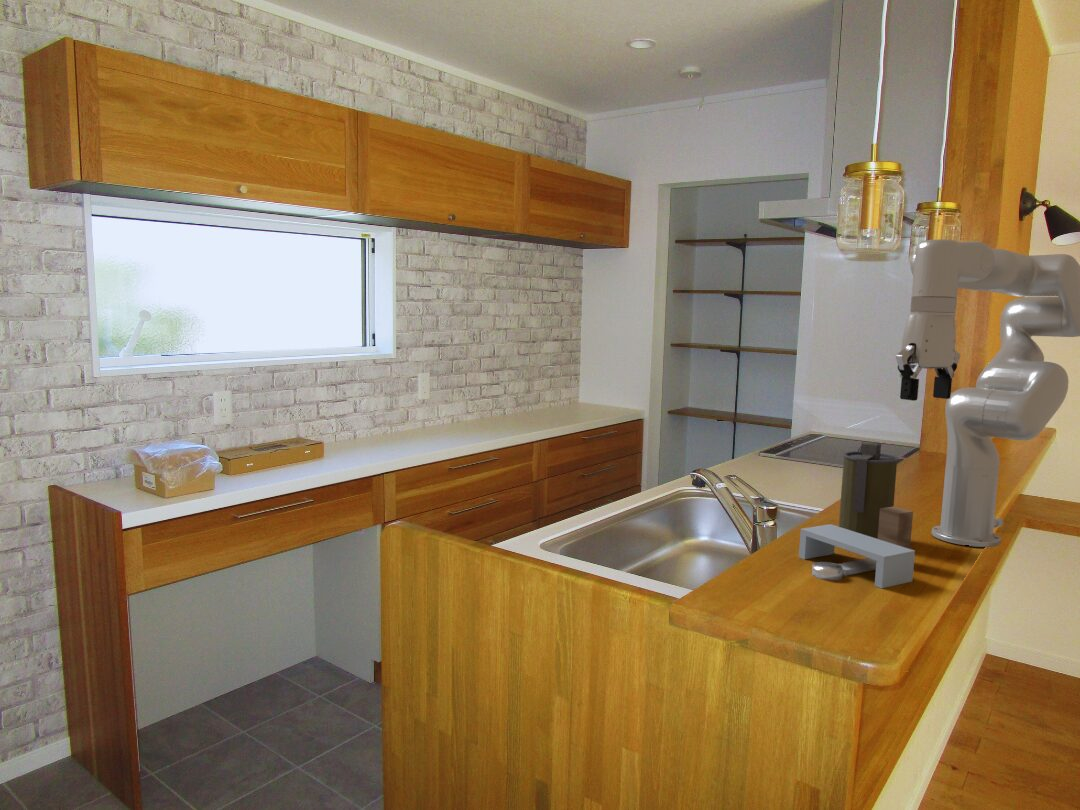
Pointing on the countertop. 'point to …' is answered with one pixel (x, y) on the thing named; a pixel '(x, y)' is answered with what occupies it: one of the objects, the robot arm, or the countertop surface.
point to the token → (827, 571)
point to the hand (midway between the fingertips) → (925, 398)
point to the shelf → (860, 552)
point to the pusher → (885, 537)
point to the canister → (866, 488)
